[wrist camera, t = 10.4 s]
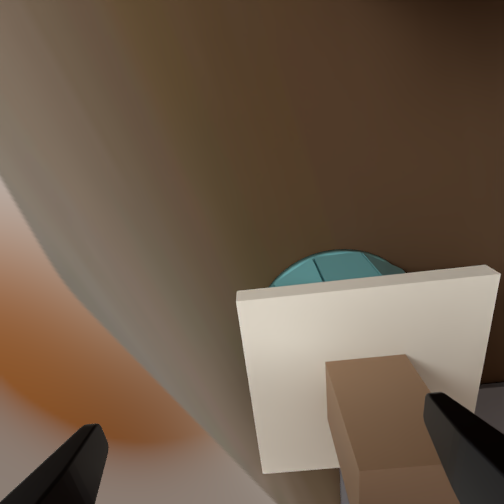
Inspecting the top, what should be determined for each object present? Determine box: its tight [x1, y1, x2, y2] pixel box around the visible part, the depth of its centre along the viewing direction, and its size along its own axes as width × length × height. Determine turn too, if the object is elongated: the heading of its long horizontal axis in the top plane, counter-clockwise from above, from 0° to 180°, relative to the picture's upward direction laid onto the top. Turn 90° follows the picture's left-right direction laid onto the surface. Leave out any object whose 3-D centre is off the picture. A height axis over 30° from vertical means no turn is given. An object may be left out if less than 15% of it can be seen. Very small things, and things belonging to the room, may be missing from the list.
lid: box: [236, 265, 501, 504], centre depth 15 cm, size 12×12×6 cm
